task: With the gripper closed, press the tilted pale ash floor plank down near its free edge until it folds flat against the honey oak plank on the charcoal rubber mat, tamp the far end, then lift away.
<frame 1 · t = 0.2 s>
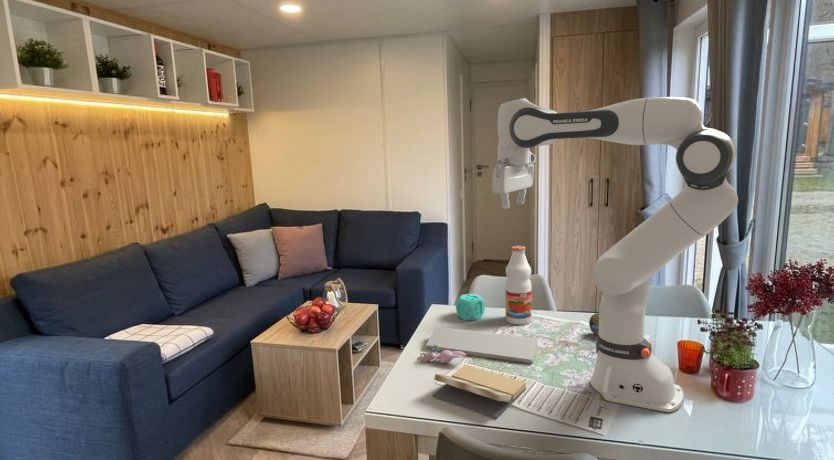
hand: (513, 206, 139), 48 cm above the table, tool pointing down, fingers open, 8 cm apart
ash plank: (472, 387, 126), point 3 cm above the table, hinge at 28.0°
laid floor: (479, 392, 129), on the table
decorative dice: (470, 317, 184), on the table
tin: (611, 339, 160), on the table
fruit juice: (518, 320, 179), on the table
decorative molding: (481, 352, 155), on the table
rabbit figure: (442, 363, 148), on the table
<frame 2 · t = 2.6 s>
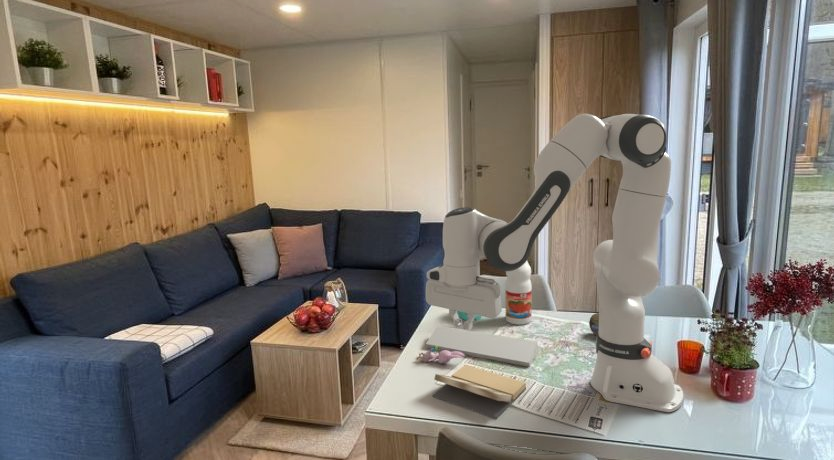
hand: (462, 327, 120), 21 cm above the table, tool pointing down, fingers closed
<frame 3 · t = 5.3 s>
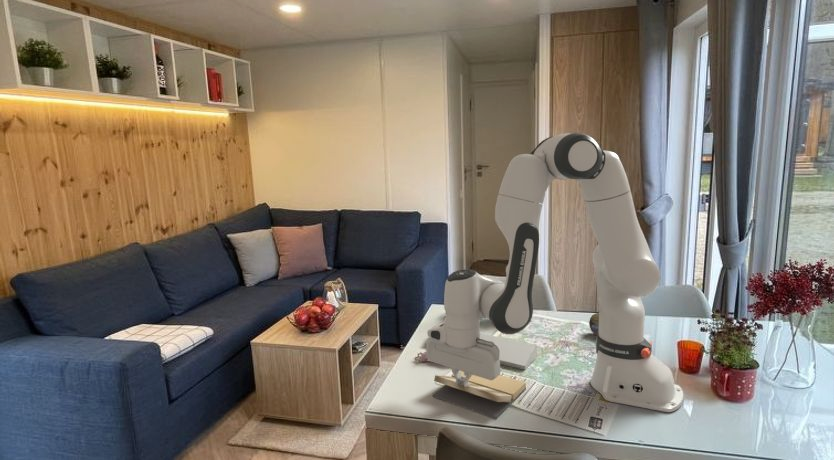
hand: (462, 385, 123), 5 cm above the table, tool pointing down, fingers closed, pressing on ash plank
ash plank: (472, 388, 126), point 3 cm above the table, hinge at 25.6°, touching gripper
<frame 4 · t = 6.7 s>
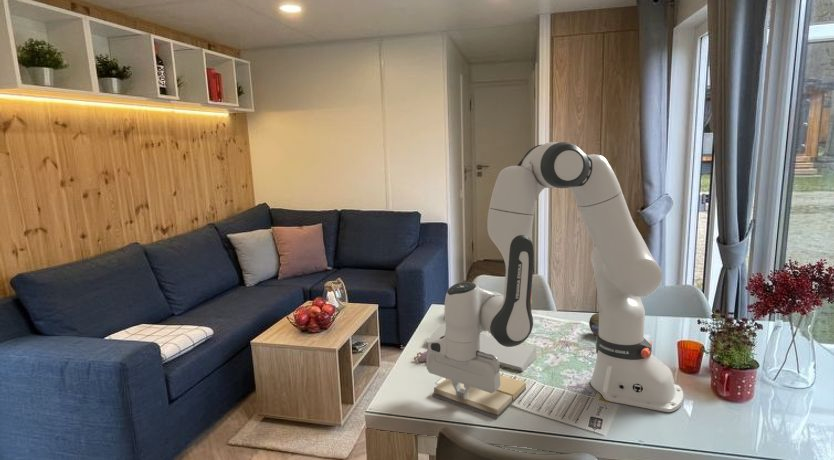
hand: (462, 397, 124), 2 cm above the table, tool pointing down, fingers closed, pressing on ash plank
ash plank: (472, 394, 126), point 1 cm above the table, hinge at 0.7°, touching gripper
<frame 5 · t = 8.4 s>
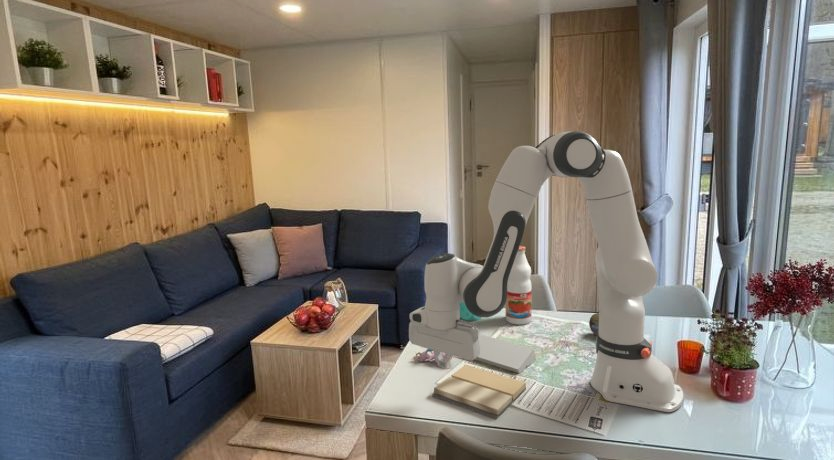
hand: (444, 366, 126), 9 cm above the table, tool pointing down, fingers closed
ash plank: (472, 394, 126), point 1 cm above the table, hinge at 0.6°
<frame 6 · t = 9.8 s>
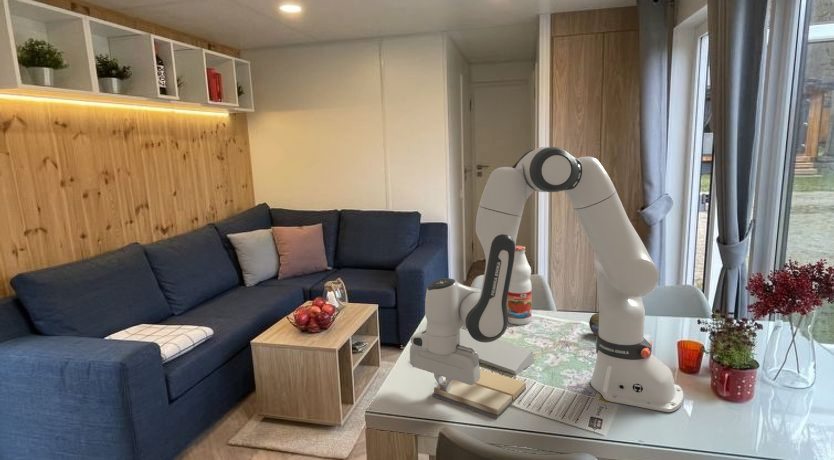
hand: (444, 389, 128), 2 cm above the table, tool pointing down, fingers closed, pressing on ash plank
ash plank: (472, 394, 126), point 1 cm above the table, hinge at 0.6°, touching gripper
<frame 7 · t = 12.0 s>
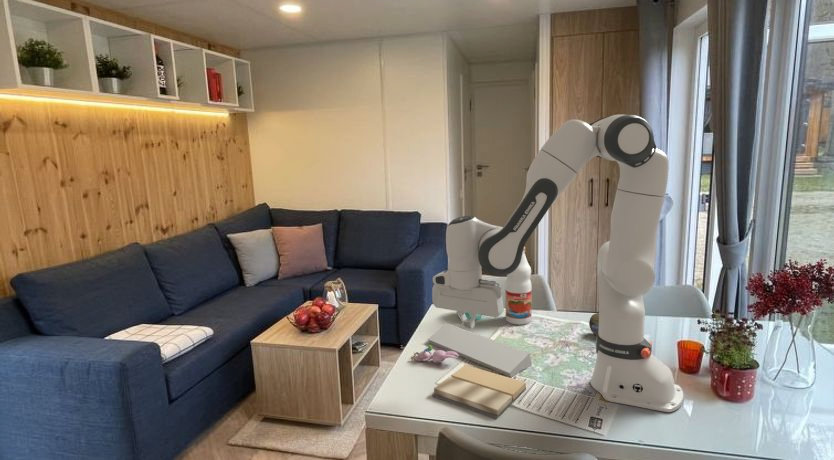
hand: (468, 326, 130), 17 cm above the table, tool pointing down, fingers closed
ash plank: (472, 394, 126), point 1 cm above the table, hinge at -0.1°
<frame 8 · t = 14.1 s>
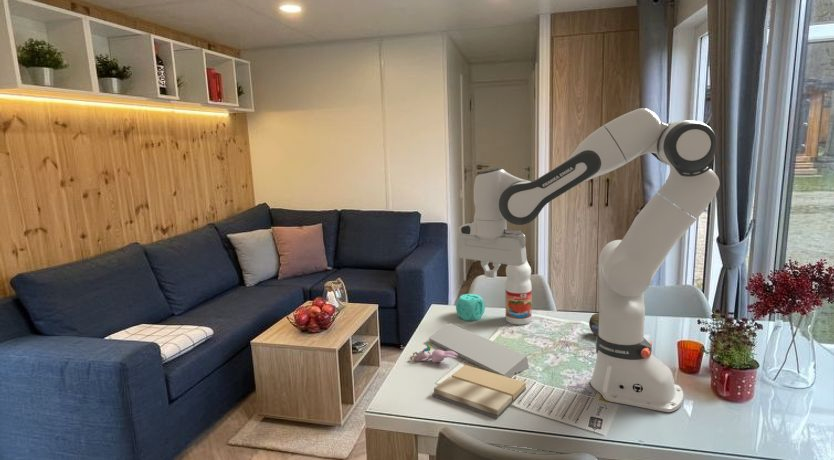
hand: (490, 276, 134), 29 cm above the table, tool pointing down, fingers closed
at the end: ash plank at +0° (first picture: +28°); the gripper is holding nothing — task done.
